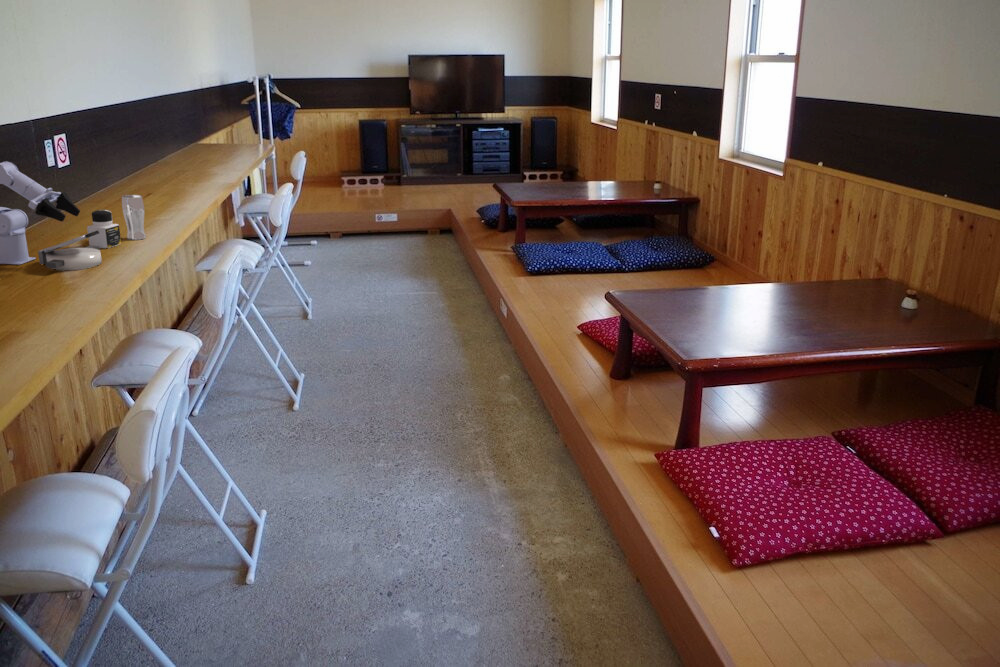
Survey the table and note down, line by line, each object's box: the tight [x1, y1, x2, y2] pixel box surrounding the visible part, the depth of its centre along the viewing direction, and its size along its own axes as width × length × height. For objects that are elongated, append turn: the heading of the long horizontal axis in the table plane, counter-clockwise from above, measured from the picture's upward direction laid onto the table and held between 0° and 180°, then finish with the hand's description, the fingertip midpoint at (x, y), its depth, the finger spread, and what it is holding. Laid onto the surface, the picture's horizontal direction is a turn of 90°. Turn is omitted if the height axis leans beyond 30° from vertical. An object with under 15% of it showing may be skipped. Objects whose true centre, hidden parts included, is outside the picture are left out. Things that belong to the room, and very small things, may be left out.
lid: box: [42, 230, 99, 253], centre depth 243 cm, size 17×15×1 cm
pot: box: [37, 245, 103, 271], centre depth 244 cm, size 17×23×4 cm
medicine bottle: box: [86, 209, 122, 249], centre depth 267 cm, size 7×7×12 cm
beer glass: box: [121, 194, 147, 241], centre depth 278 cm, size 7×7×15 cm
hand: (71, 216), depth 240 cm, fingers open, 7 cm apart
